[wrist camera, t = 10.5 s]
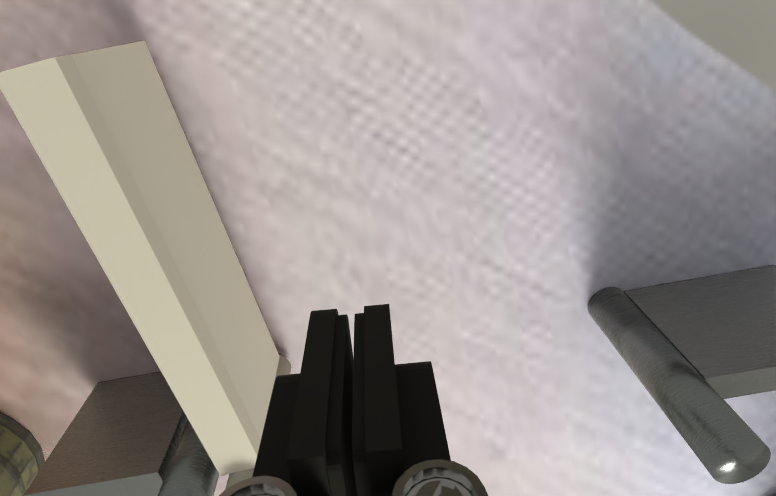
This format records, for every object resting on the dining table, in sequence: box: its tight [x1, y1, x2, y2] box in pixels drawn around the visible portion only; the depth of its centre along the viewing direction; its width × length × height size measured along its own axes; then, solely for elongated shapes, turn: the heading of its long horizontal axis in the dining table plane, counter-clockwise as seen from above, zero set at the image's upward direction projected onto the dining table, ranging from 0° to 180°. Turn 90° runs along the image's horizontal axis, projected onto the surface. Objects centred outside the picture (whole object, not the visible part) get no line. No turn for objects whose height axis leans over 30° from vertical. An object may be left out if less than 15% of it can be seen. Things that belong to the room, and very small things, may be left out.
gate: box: [0, 41, 291, 490], centre depth 23 cm, size 20×2×9 cm, turn 14°
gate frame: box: [23, 265, 776, 496], centre depth 26 cm, size 42×2×12 cm, turn 99°
